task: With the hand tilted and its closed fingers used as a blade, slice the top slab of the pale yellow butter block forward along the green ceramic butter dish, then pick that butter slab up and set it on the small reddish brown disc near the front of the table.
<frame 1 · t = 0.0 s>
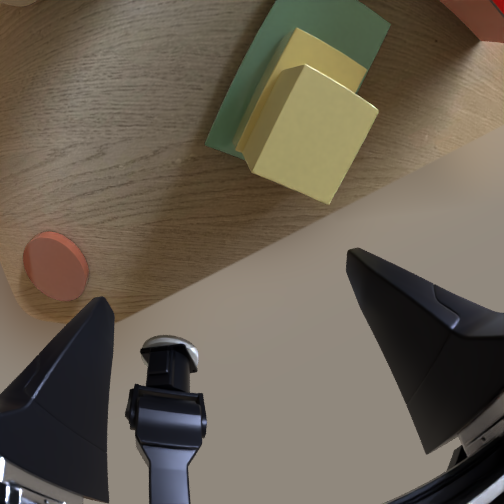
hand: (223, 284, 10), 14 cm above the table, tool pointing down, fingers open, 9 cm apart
reddish brown disc: (56, 264, 24), on the table
butter slab: (294, 125, 16), point 4 cm above the table, touching butter dish
butter dish: (302, 71, 18), on the table
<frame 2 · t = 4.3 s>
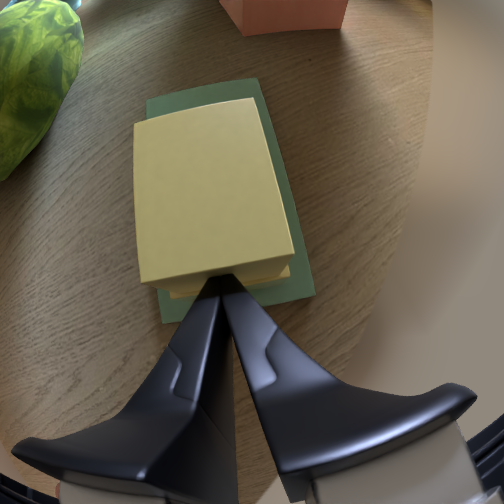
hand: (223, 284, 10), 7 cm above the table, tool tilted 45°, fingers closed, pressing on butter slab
flower pot: (60, 17, 27), on the table
butter slab: (217, 220, 13), point 5 cm above the table, touching gripper
butter dish: (215, 181, 18), on the table
lettuce: (40, 113, 21), on the table
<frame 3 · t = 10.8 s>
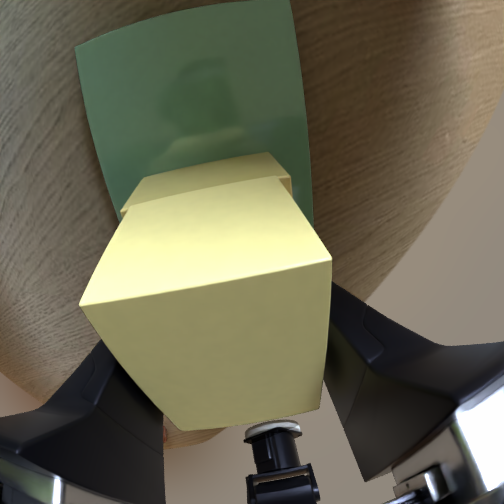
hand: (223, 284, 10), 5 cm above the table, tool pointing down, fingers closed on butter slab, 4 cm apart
butter slab: (220, 268, 10), point 5 cm above the table, touching butter dish, gripper
butter dish: (212, 191, 13), on the table
when the fingers open (2 cm above the table, at t = 16.7 s): butter slab stays where it is, resting on reddish brown disc.
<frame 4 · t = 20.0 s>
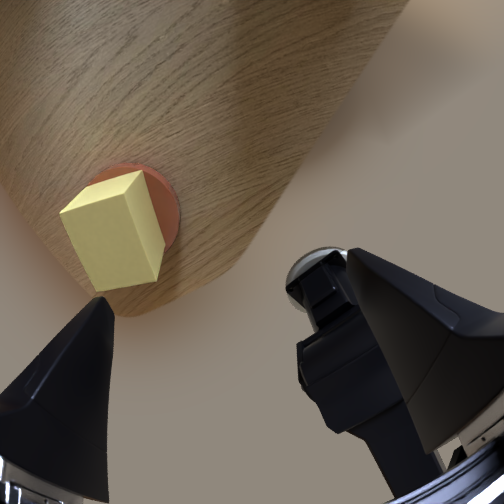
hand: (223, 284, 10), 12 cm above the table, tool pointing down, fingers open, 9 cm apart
reddish brown disc: (130, 212, 20), on the table
butter slab: (125, 215, 19), point 1 cm above the table, touching reddish brown disc
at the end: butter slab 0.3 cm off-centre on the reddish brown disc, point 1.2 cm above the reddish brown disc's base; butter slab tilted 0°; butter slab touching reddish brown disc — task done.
